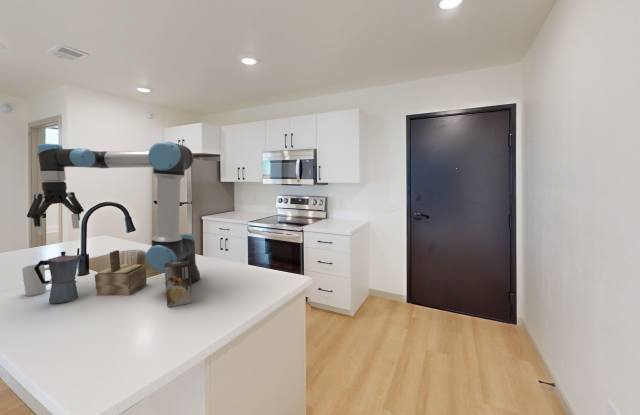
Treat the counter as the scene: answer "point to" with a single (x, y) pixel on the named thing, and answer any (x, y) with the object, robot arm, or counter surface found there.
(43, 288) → the mug
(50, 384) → the counter surface
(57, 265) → the moka pot
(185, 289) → the coffee box
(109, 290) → the carton
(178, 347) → the counter surface
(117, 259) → the flap
